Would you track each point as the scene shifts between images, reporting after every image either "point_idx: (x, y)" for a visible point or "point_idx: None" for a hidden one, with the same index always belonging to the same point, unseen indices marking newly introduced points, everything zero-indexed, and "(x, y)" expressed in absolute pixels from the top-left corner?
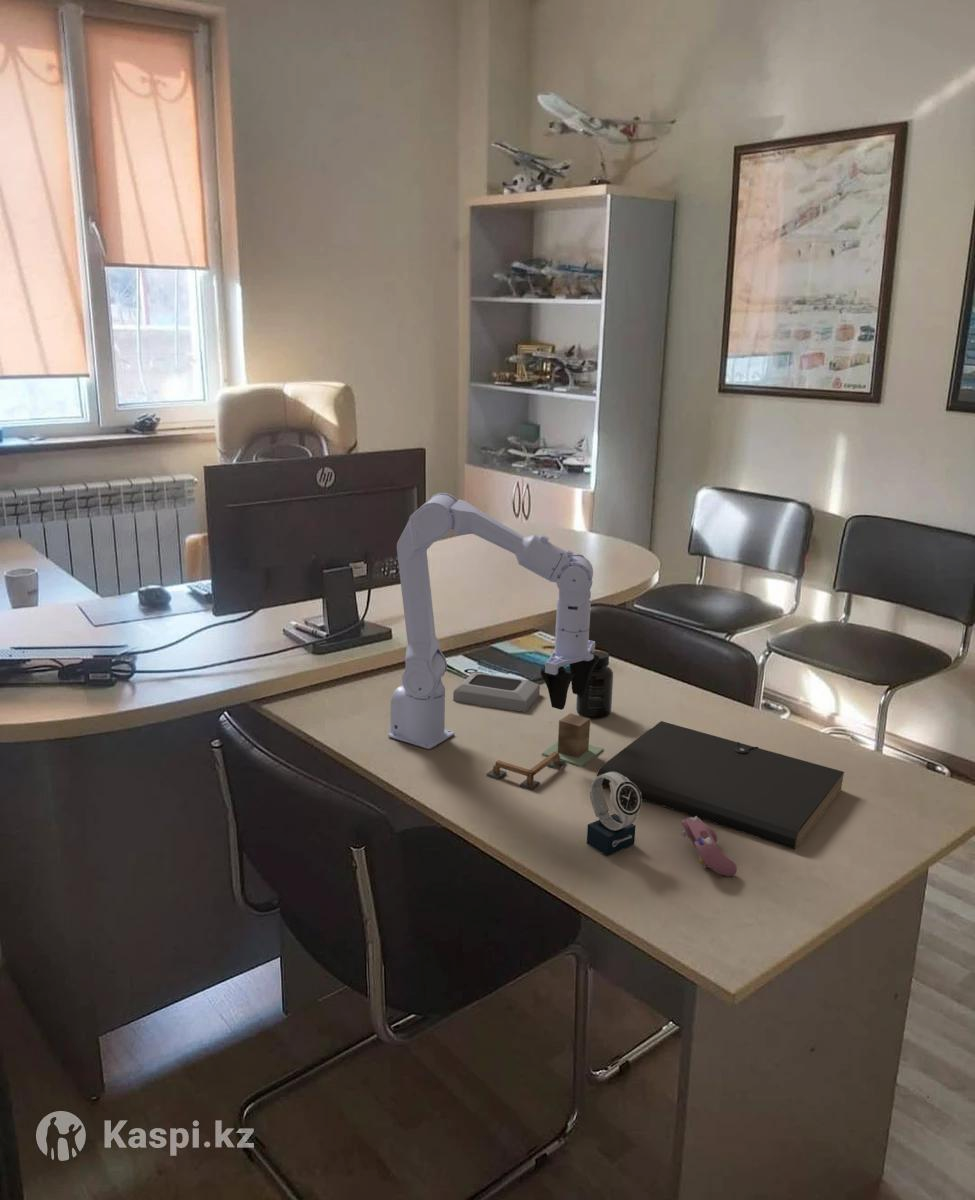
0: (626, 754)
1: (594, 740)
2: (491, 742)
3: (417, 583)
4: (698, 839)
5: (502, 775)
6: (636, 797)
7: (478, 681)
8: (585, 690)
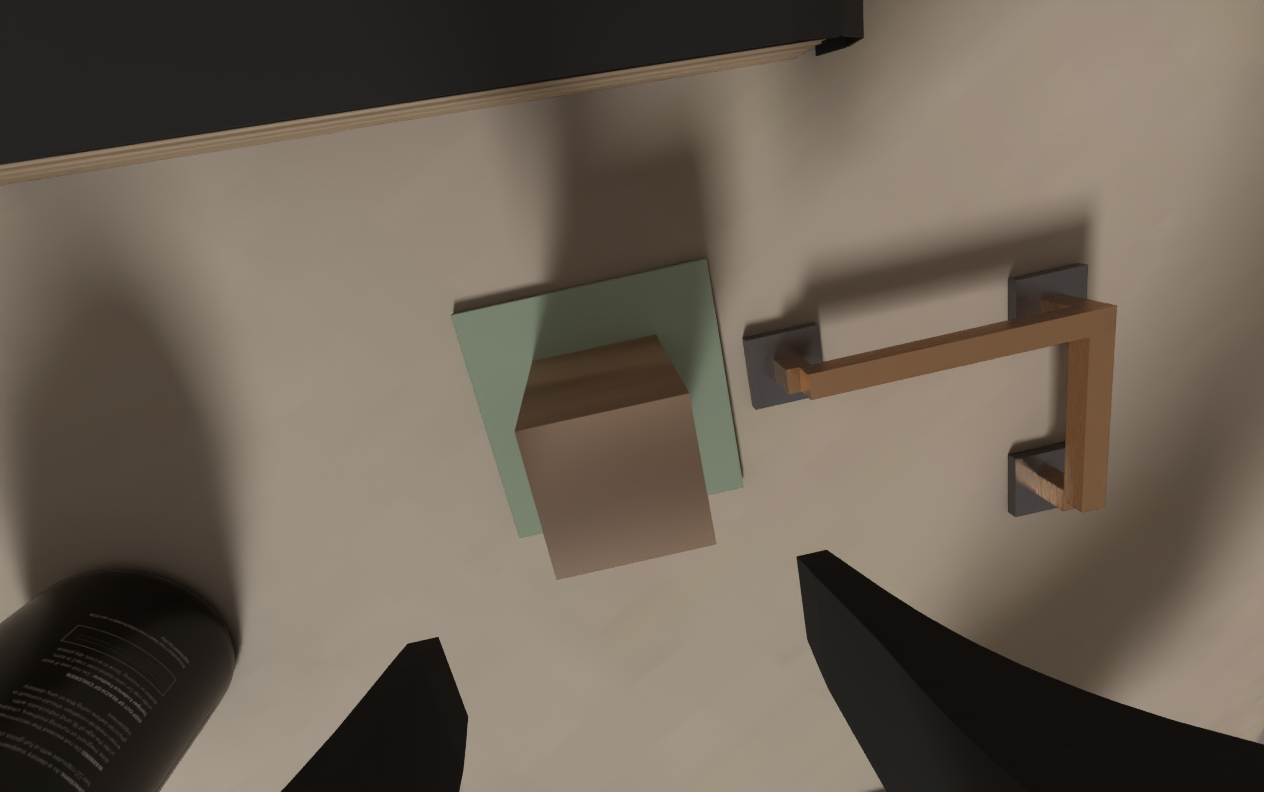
0: (560, 8)
1: (396, 425)
2: (794, 692)
3: None
4: None
5: (1044, 450)
6: None
7: None
8: (400, 667)
